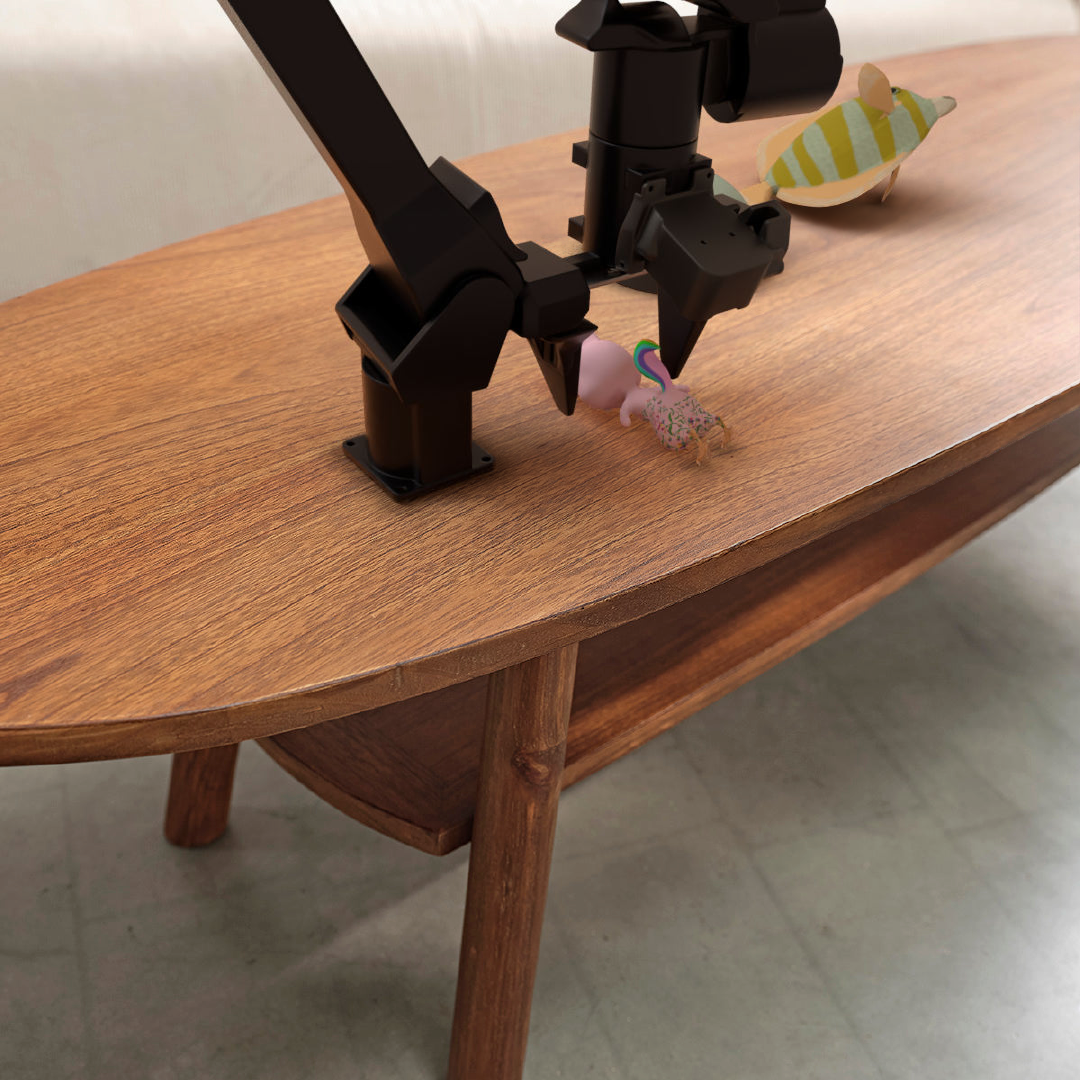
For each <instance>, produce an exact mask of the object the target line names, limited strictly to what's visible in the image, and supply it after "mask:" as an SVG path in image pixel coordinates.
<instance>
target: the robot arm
mask: <svg viewBox="0 0 1080 1080" xmlns="http://www.w3.org/2000/svg"><path fill="white" fill-rule="evenodd" d="M682 1H684V2H685V3H686V2H687V3H688V4H691V5H695V6H697V11H696V14H694V15H680V14H679V12H678V10H676V9H675V8H674V7H673V6H672V5H670V3H668V2H665V1H662V0H646V1H644V0H643V1H633V2H632V1H631V2H621V1H620V0H580V1H579V2H578V3H577V4H575V6H573V7H572V8H570V9H568V10H567V12H566V13H565V14H564V15H563V16H561V18H560V19H558V20H557V21H556V23H555V25H554V32H555V33H556V35H557V36H558V37H560V38H562V39H563V40H567V41H568V42H570V43H572V44H574V45H576V46H579V47H581V48H582V49H585V50H587V51H588V52H591V53H593V59H592V60H593V62H592V76H591V92H590V106H589V107H590V108H589V109H590V110H589V124H588V127H589V128H588V139H587V140H582V141H576V142H573V143H572V149H571V163H572V164H575V165H577V166H579V167H580V168H583V169H585V170H586V172H585V188H584V202H583V214H580V215H576V216H572V217H568V222H567V223H568V224H567V237H569V238H571V239H573V240H575V241H577V242H579V243H581V244H582V246H581V251H582V252H580V253H576V254H572V255H568V256H564V257H561V256H559V255H558V254H556V253H554V252H552V251H551V250H549V249H547V248H545V247H543V246H542V245H540V244H539V243H536V242H535V241H533V240H528V241H523V242H519V243H514V241H513V240H512V238H511V237H510V236H509V233H508V232H507V229H506V226H505V224H504V221H503V218H502V214H501V212H500V209H499V207H498V205H497V203H496V200H495V198H494V197H493V195H492V193H491V192H490V191H489V190H488V189H486V188H485V187H483V186H482V185H481V184H480V183H478V182H477V181H476V180H474V179H473V178H472V177H470V176H469V175H468V174H467V173H465V172H464V171H463V170H461V169H460V168H459V167H457V166H456V165H455V164H453V163H452V162H450V161H449V160H448V159H447V158H445V157H444V156H443V155H440V156H438V157H437V158H436V159H435V161H433V163H432V164H430V166H428V164H427V162H426V161H425V159H424V157H423V156H422V154H421V152H420V151H419V149H418V147H417V146H416V144H415V142H414V140H413V138H412V137H411V135H410V134H409V132H408V130H407V129H406V127H405V125H404V123H403V122H402V120H401V118H400V117H399V115H398V114H397V111H396V110H395V108H394V107H393V105H392V103H391V101H390V100H389V98H388V97H387V95H386V93H385V92H384V89H383V88H382V86H381V85H380V83H379V82H378V79H377V78H376V76H375V74H374V72H373V71H372V70H371V68H370V66H369V65H368V63H367V61H366V59H365V58H364V56H363V54H362V52H361V51H360V50H359V47H358V45H357V44H356V42H355V41H354V39H353V37H352V36H351V34H350V32H349V31H348V29H347V27H346V25H345V24H344V23H343V21H342V19H341V17H340V15H339V14H338V12H337V10H336V9H335V7H334V5H333V4H332V2H331V1H330V0H216V2H217V3H218V4H219V6H220V8H221V9H222V11H223V12H224V14H225V15H226V16H227V18H228V19H229V21H230V22H231V24H232V26H233V27H234V29H235V30H236V31H237V33H238V34H239V36H240V37H241V39H242V40H243V42H244V43H245V45H246V46H247V48H248V49H249V51H250V52H251V54H252V55H253V56H254V58H255V59H256V61H257V62H258V65H259V66H260V67H261V69H262V70H263V72H264V73H265V74H266V76H267V78H268V79H269V80H270V82H271V84H272V85H273V86H274V88H275V89H276V91H277V92H278V94H279V95H280V97H281V98H282V100H283V101H284V103H285V105H286V106H287V107H288V109H289V110H290V111H291V113H292V115H293V116H294V118H295V119H296V121H297V122H298V124H299V125H300V126H301V129H302V130H303V131H304V133H305V134H306V135H307V137H308V139H309V140H310V142H311V143H312V144H313V146H314V147H315V149H316V151H317V152H318V153H319V155H320V157H321V158H322V160H323V161H324V162H325V164H326V166H327V167H328V168H329V170H330V172H331V173H332V174H333V176H334V178H335V179H336V180H337V182H338V183H339V185H340V186H341V188H342V189H343V191H344V194H345V196H346V198H347V200H348V204H349V207H350V211H351V215H352V218H353V222H354V225H355V230H356V233H357V236H358V238H359V242H360V244H361V246H362V248H363V250H364V252H365V254H366V257H367V260H368V261H369V263H368V264H367V266H366V267H365V268H364V269H363V271H362V272H361V273H360V274H359V275H358V276H357V277H356V279H355V280H354V281H353V282H352V284H351V285H350V286H349V287H348V289H347V290H346V291H345V292H344V293H343V294H342V296H341V297H340V298H339V299H338V300H337V302H336V303H335V305H334V311H335V313H336V316H337V317H338V320H339V322H340V323H341V325H342V328H343V330H344V332H345V334H346V335H347V337H348V338H349V339H350V340H351V341H354V344H356V345H357V346H358V348H359V350H360V362H361V363H360V365H361V370H360V371H361V385H362V399H363V400H362V402H363V416H364V428H365V429H364V430H365V433H363V434H360V435H357V436H354V437H351V438H348V439H345V440H343V442H341V448H342V452H343V454H344V455H346V457H347V458H349V459H350V460H351V461H352V462H353V463H354V464H355V465H356V466H357V467H359V468H360V469H361V471H363V472H364V473H365V474H366V475H367V476H368V477H369V478H370V479H371V480H372V481H374V483H376V484H377V485H378V486H379V487H380V488H381V489H382V490H383V491H384V492H385V493H387V495H388V496H389V497H391V499H393V500H394V501H397V502H405V501H408V500H411V499H414V498H417V497H419V496H422V495H425V494H427V493H431V492H433V491H436V490H439V489H441V488H444V487H447V486H450V485H453V484H455V483H457V482H460V481H464V480H466V479H469V478H471V477H475V476H477V475H480V474H482V473H485V472H488V471H490V470H493V469H494V468H495V467H496V458H495V456H493V455H492V454H491V453H490V452H488V451H487V449H485V448H483V446H481V445H480V444H479V443H477V442H476V441H475V440H473V393H474V392H479V391H483V390H485V389H487V388H488V387H489V385H490V382H491V380H492V377H493V374H494V371H495V368H496V366H497V363H498V360H499V358H500V354H501V352H502V349H503V346H504V344H505V342H506V338H507V335H508V333H509V332H510V331H511V332H513V333H514V334H516V335H517V336H519V337H520V338H522V339H526V341H527V342H528V345H529V347H530V348H531V350H532V353H533V355H534V358H535V359H536V363H537V365H538V366H539V369H540V372H541V373H542V376H543V378H544V381H545V384H546V385H547V387H548V389H549V392H550V394H551V397H552V399H553V401H554V404H555V406H556V409H557V410H558V411H559V412H560V413H561V414H562V415H564V416H566V417H571V416H573V415H574V414H575V411H576V405H577V401H578V397H579V395H578V387H579V375H580V364H581V352H582V344H583V342H584V341H585V340H586V339H587V338H588V337H589V336H591V335H592V334H593V333H596V332H597V331H598V330H599V325H597V324H595V323H594V322H592V321H590V320H588V319H587V318H586V315H587V314H588V313H589V312H590V305H591V291H592V290H594V289H597V288H600V287H604V286H608V285H611V284H615V283H616V282H619V281H622V280H626V279H630V278H633V277H637V276H640V275H644V274H647V273H648V274H649V275H650V276H651V277H652V278H653V279H654V281H655V282H656V283H657V318H658V319H657V320H658V321H657V322H658V345H659V347H660V348H661V349H658V350H659V351H658V352H659V357H660V359H659V360H660V361H661V362H662V363H663V365H664V366H665V368H666V369H667V371H668V373H669V375H670V378H671V381H675V380H676V379H678V378H679V377H680V376H681V374H682V372H683V369H684V368H685V366H686V364H687V361H688V359H689V358H690V356H691V354H692V352H693V350H694V349H695V346H696V344H697V342H698V340H699V339H700V336H701V334H702V332H703V331H704V329H705V327H706V325H707V323H708V321H709V320H710V319H712V318H714V316H716V315H719V314H722V313H725V312H730V311H732V310H735V309H736V310H739V311H740V310H742V309H745V308H747V307H748V306H749V305H750V304H751V301H752V299H753V298H754V296H755V294H756V292H757V290H758V288H759V286H760V284H761V282H762V281H763V280H765V279H770V278H772V277H775V276H779V275H781V274H782V273H783V272H784V270H785V263H784V258H785V256H786V254H787V252H788V250H789V246H790V239H791V238H790V237H791V226H792V214H791V213H790V212H789V211H788V209H786V207H785V206H784V205H782V204H781V203H780V201H779V200H777V199H770V200H769V201H767V202H763V203H759V204H755V205H752V206H750V205H747V204H745V203H743V202H741V201H738V200H736V199H734V198H731V197H729V196H727V195H725V194H722V193H721V194H717V195H714V190H713V181H714V174H715V170H714V168H713V167H712V165H713V158H711V157H708V156H706V155H703V154H701V153H698V151H697V150H698V145H699V144H698V143H699V134H700V128H701V127H700V126H701V117H702V109H704V110H705V112H706V113H707V115H708V116H709V117H711V119H713V120H714V121H716V122H717V123H719V124H727V125H728V124H735V123H744V122H750V121H751V122H752V121H758V120H759V121H760V120H766V119H773V118H775V119H776V118H781V117H789V116H790V117H791V116H798V115H804V114H812V113H814V112H816V111H819V110H821V109H823V107H825V106H826V105H827V104H828V102H829V101H830V100H831V99H832V97H833V96H834V95H835V92H836V90H837V88H838V86H839V83H840V80H841V77H842V73H843V67H844V56H843V55H842V54H841V53H842V52H841V51H842V50H841V39H840V34H839V30H838V27H837V24H836V22H835V19H834V17H833V16H832V15H833V14H831V12H830V11H829V9H828V8H827V7H826V5H827V0H682Z"/></svg>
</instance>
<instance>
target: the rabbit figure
mask: <svg viewBox="0 0 1080 1080" xmlns="http://www.w3.org/2000/svg"><path fill="white" fill-rule="evenodd" d="M659 349H661V348H660V347H659V343H657V342H656V341H654V340H652V339H650V338H642V339H641V340H640V341H638V342H637V344H636V345H635V347H634V351H633V355H632V354H631V353H630V352H629V351H628V350H626V349H625V348H624V347H623V346H621V345H620V344H618V343H616V342H614V341H612V340H608V339H600V337H599V335H598V334H596V332H594V333H593V334H592V335H591V336H589V337H588V338H587V339H586V340H585V341H584V342H583V344H582V352H581V364H580V375H579V387H578V397H579V398H580V400H581V401H582V402H583V403H584V404H585V405H586V406H588V407H589V408H591V409H593V410H598V411H599V410H602V411H604V412H606V413H608V412H611V411H613V410H615V409H618V410H619V421H620V424H621V425H620V426H622V427H624V428H628V427H630V426H631V423H632V421H631V419H630V415H631V414H632V415H633V416H635V417H636V418H637V419H638V420H640V421H642V422H644V423H649V424H650V425H651V426H652V429H653V431H654V433H655V435H656V437H657V440H658V441H659V443H660V444H661V445H662V446H663V448H665V449H667V450H668V451H671V452H675V453H677V452H682V451H684V450H686V449H687V448H688V447H689V446H690V445H691V442H692V441H695V442H696V443H697V446H698V455H697V458H696V460H695V462H696V465H698V467H701V460H703V459H704V458H707V459H709V456H708V455H707V451H708V445H707V444H709V442H710V440H705V442H703V441H702V439H704V438H705V437H706V436H707V435H708V434H709V432H710V431H711V429H712V428H714V427H715V426H719V427H720V428H721V429H722V431H723V440H722V441H721V444H720V448H721V449H724V450H727V446H726V444H728V443H729V444H733V442H732V436H733V430H732V428H734V427H735V426H736V425H735V424H731V425H730V426H729V427H728V426H727V424H726V423H725V422H724V419H723V416H722V415H721V414H718V413H717V414H713V413H710V412H709V411H707V410H706V409H705V408H704V407H703V405H702V404H701V403H700V401H699V400H698V399H697V398H696V397H695V396H693V395H692V394H690V391H691V387H690V386H689V385H688V384H674V383H673V380H671V378H670V375H669V373H668V371H667V369H666V368H665V366H664V365H663V363H662V362H661V359H659V357H658V356H657V354H656V352H655V351H656V350H659ZM642 376H644V377H645V378H647V379H649V380H651V381H653V382H656V383H657V384H658V386H657V385H656V386H650V387H642V386H640V384H641V382H642Z"/></svg>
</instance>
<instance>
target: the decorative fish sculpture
mask: <svg viewBox="0 0 1080 1080" xmlns="http://www.w3.org/2000/svg"><path fill="white" fill-rule="evenodd" d="M857 88H858V93H859V96H856V97H853V98H851V99H848V100H845V101H841V102H838V103H835V104H832V105H829V106H826V107H824V108H821V109H819V110H818V111H815V112H811V113H808V114H807V115H804V116H803V117H800V118H798V119H796V120H794V121H792V122H790V123H788V124H786V125H784V126H782V127H780V128H778V129H777V130H775V131H772V132H771V133H770V134H768V135H766V136H765V138H763V139H762V140H761V141H760V143H759V145H758V146H757V150H756V152H755V153H756V155H755V165H756V170H757V175H758V179H759V181H760V183H756V184H753V185H750V186H748V187H745V188H742V189H741V190H738V192H739V193H740V194H741V195H742V196H743V198H744V199H745V201H746V202H747V204H748V205H750V206H752V205H755V204H759V203H763V202H767V201H770V200H772V199H773V198H778V199H779V200H781V201H783V202H786V203H788V204H789V203H790V204H793V205H799V206H804V207H811V208H825V207H826V208H827V207H833V206H837V205H840V204H843V203H844V204H845V203H847V202H849V201H851V200H854V199H856V198H858V197H860V196H861V195H863V194H864V193H866V192H868V191H869V190H871V189H872V188H874V187H875V186H876V185H878V184H879V183H880V182H881V181H883V180H884V179H885V178H886V177H888V175H890V179H889V182H888V184H887V187H886V188H885V191H884V193H883V196H882V198H881V202H882V203H883V202H884V201H885V200H886V198H888V196H889V194H890V193H891V191H892V189H893V187H894V185H895V183H896V181H897V179H898V176H899V173H900V172H899V171H900V168H901V165H902V163H904V161H905V160H907V159H908V158H909V157H910V156H912V154H913V153H914V151H916V149H917V148H918V147H919V146H920V145H921V144H922V143H923V142H924V140H926V138H927V136H928V135H929V133H930V131H931V130H932V129H933V127H934V126H935V124H936V122H937V121H938V120H939V119H941V118H943V117H945V116H947V115H949V114H951V112H953V111H954V110H956V108H957V107H958V102H957V99H956V98H955V97H953V96H950V95H939V96H935V97H931V98H926V97H923V96H921V95H919V94H918V93H917V92H916V93H915V92H914V91H912V90H909V89H906V88H905V89H904V88H901V87H899V86H896V85H895V86H891V83H890V80H889V78H888V77H887V76H886V74H885V72H883V71H882V70H881V69H880V68H879V67H877V66H876V64H873V63H871V62H865V63H864V64H863V65H862V66H861V67H860V70H859V73H858V76H857Z"/></svg>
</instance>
